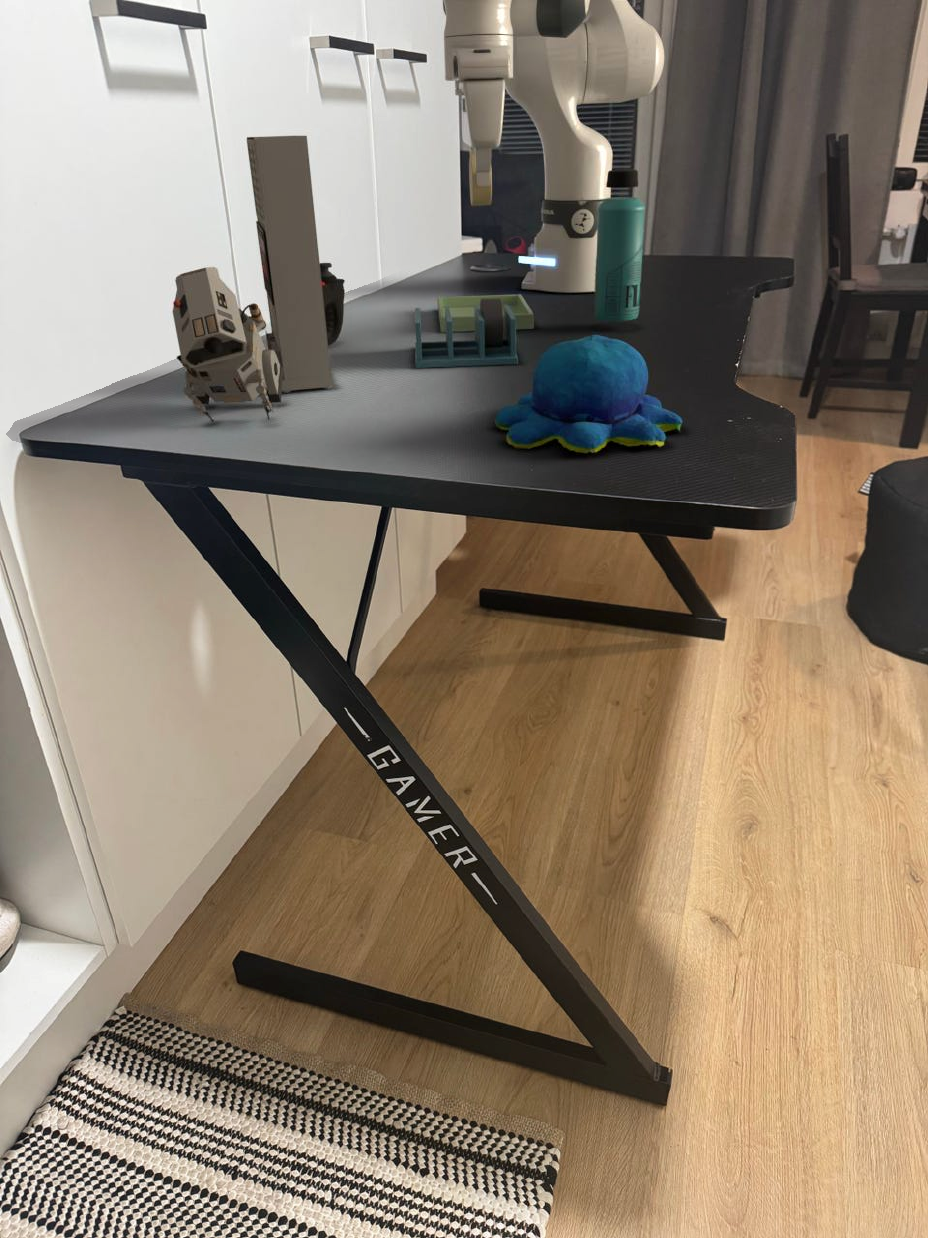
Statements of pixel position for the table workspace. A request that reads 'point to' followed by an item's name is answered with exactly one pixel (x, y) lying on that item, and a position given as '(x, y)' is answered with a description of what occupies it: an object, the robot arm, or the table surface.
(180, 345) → the figurine
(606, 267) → the beverage bottle
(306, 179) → the tall beige panel
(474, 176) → the masking tape
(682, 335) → the table surface
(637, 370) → the plush toy
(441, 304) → the tray
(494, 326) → the vinyl tape
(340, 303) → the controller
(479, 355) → the tape rack
